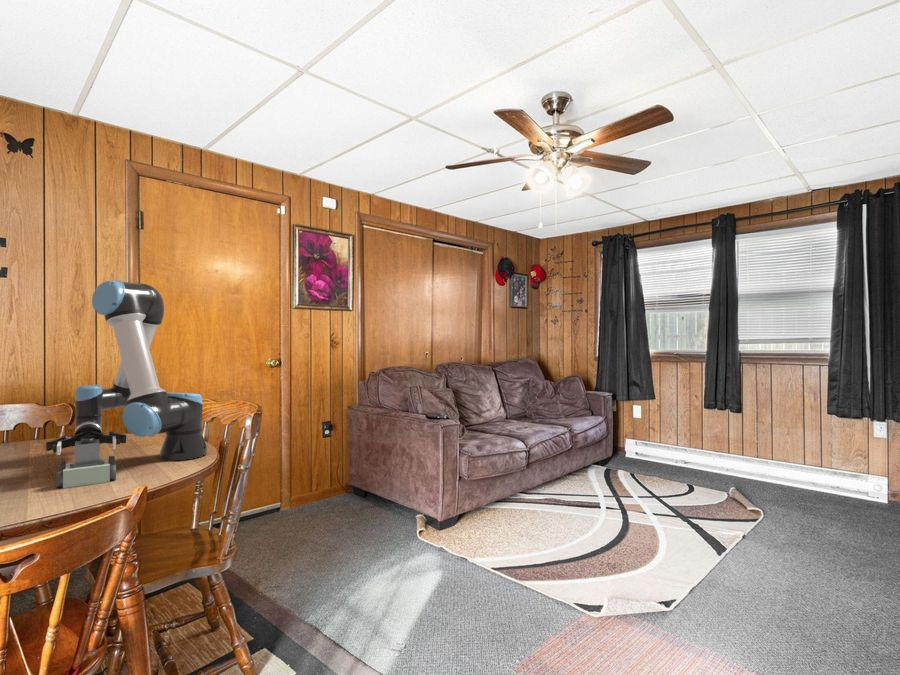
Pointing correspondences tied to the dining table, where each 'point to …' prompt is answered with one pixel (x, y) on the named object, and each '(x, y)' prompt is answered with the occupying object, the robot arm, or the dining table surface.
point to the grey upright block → (87, 452)
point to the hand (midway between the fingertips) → (87, 447)
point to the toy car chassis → (85, 473)
